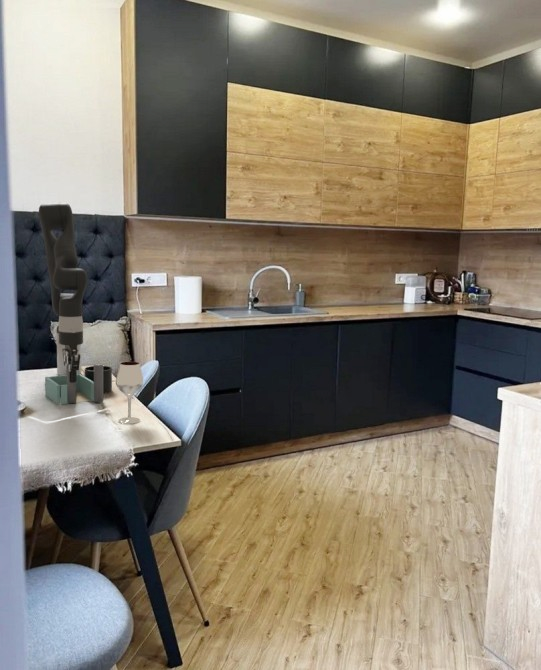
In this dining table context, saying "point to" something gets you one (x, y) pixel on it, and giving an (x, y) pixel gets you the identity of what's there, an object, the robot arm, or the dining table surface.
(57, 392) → the teal open box
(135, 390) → the wineglass
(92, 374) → the mug
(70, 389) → the flap near
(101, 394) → the flap far
